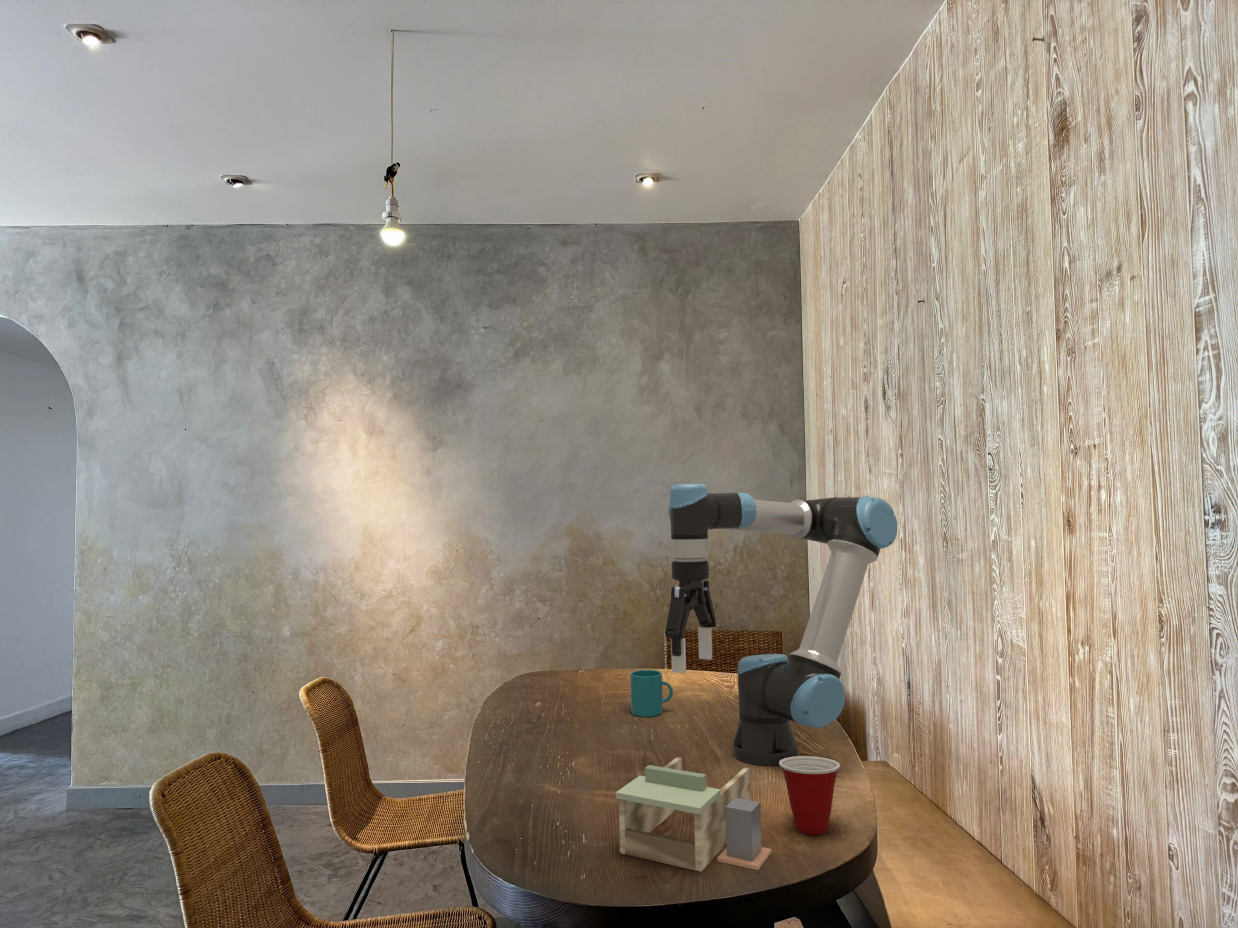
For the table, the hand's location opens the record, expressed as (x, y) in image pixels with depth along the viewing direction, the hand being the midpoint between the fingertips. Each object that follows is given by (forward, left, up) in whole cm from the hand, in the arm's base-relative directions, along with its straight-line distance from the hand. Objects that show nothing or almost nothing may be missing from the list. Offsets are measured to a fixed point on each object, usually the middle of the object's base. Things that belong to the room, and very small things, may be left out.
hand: (692, 665), depth 155 cm
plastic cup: (+3, +24, -27) cm, 36 cm away
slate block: (+19, +17, -26) cm, 36 cm away
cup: (-53, -36, -27) cm, 70 cm away
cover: (+23, +5, -17) cm, 29 cm away
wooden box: (+15, +5, -27) cm, 31 cm away
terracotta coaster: (+19, +17, -27) cm, 37 cm away
